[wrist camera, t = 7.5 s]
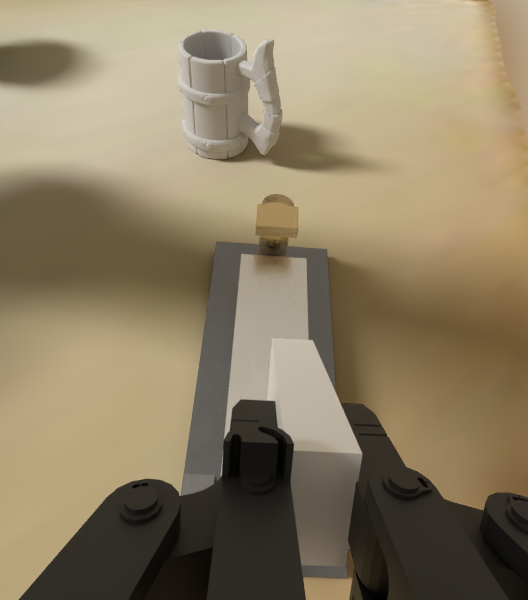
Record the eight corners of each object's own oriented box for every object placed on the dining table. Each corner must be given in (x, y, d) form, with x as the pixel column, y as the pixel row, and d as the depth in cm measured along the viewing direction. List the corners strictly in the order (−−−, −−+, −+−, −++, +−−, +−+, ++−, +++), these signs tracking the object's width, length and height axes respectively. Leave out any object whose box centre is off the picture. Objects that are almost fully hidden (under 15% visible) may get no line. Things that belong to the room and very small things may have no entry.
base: (343, 576, 22) (384, 594, 16) (173, 568, 22) (146, 584, 15) (324, 256, 35) (343, 196, 28) (217, 248, 34) (212, 186, 28)
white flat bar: (308, 532, 20) (314, 532, 19) (217, 528, 20) (215, 528, 19) (303, 270, 30) (307, 255, 28) (241, 265, 30) (241, 251, 28)
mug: (211, 112, 46) (203, -9, 35) (294, 150, 43) (311, 30, 32) (169, 143, 42) (147, 19, 32) (256, 187, 39) (262, 66, 29)
